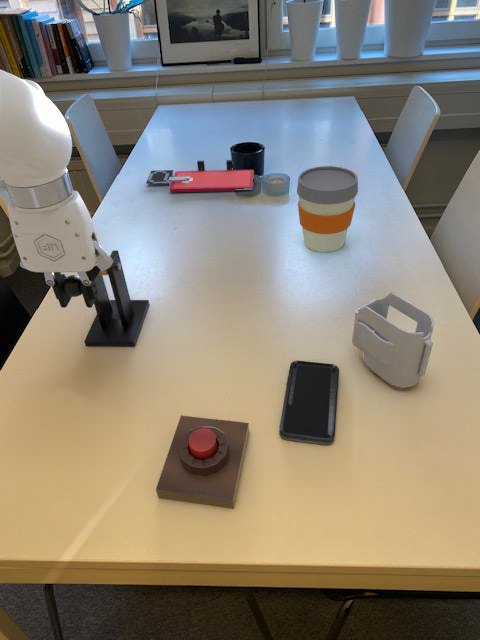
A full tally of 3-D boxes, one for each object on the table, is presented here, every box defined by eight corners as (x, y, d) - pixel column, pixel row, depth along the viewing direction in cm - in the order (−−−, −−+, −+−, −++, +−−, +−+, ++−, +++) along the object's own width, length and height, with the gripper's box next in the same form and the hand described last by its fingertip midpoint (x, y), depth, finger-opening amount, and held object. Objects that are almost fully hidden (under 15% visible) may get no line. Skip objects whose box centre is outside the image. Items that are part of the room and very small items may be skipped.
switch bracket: (135, 346, 86) (116, 278, 77) (85, 346, 87) (61, 278, 78) (149, 304, 96) (134, 238, 86) (104, 304, 96) (85, 239, 87)
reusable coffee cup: (306, 223, 116) (308, 162, 107) (359, 232, 112) (366, 169, 102) (287, 250, 108) (287, 186, 98) (343, 261, 103) (349, 195, 94)
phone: (339, 364, 79) (334, 441, 67) (339, 369, 79) (333, 446, 68) (290, 359, 80) (277, 434, 69) (290, 364, 81) (277, 438, 70)
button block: (233, 509, 62) (231, 492, 59) (158, 498, 64) (153, 481, 61) (249, 432, 71) (248, 414, 68) (182, 424, 73) (179, 407, 70)
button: (213, 460, 63) (212, 452, 62) (186, 457, 64) (185, 449, 63) (219, 438, 66) (218, 430, 65) (193, 435, 67) (192, 427, 66)
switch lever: (81, 299, 71) (78, 278, 70) (60, 299, 71) (57, 278, 70) (115, 273, 85) (113, 255, 84) (97, 273, 85) (95, 255, 84)
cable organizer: (371, 341, 84) (380, 284, 76) (431, 383, 76) (448, 324, 68) (343, 358, 81) (349, 301, 74) (402, 403, 73) (416, 345, 66)
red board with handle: (152, 170, 145) (143, 194, 134) (151, 161, 143) (141, 184, 132) (254, 168, 143) (253, 192, 132) (254, 159, 141) (252, 182, 130)
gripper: (-36, 203, 60) (17, 317, 72) (94, 201, 58) (126, 318, 70) (-8, 177, 66) (37, 287, 78) (111, 174, 64) (138, 287, 76)
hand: (79, 301), depth 74 cm, fingers closed on switch lever, 3 cm apart
